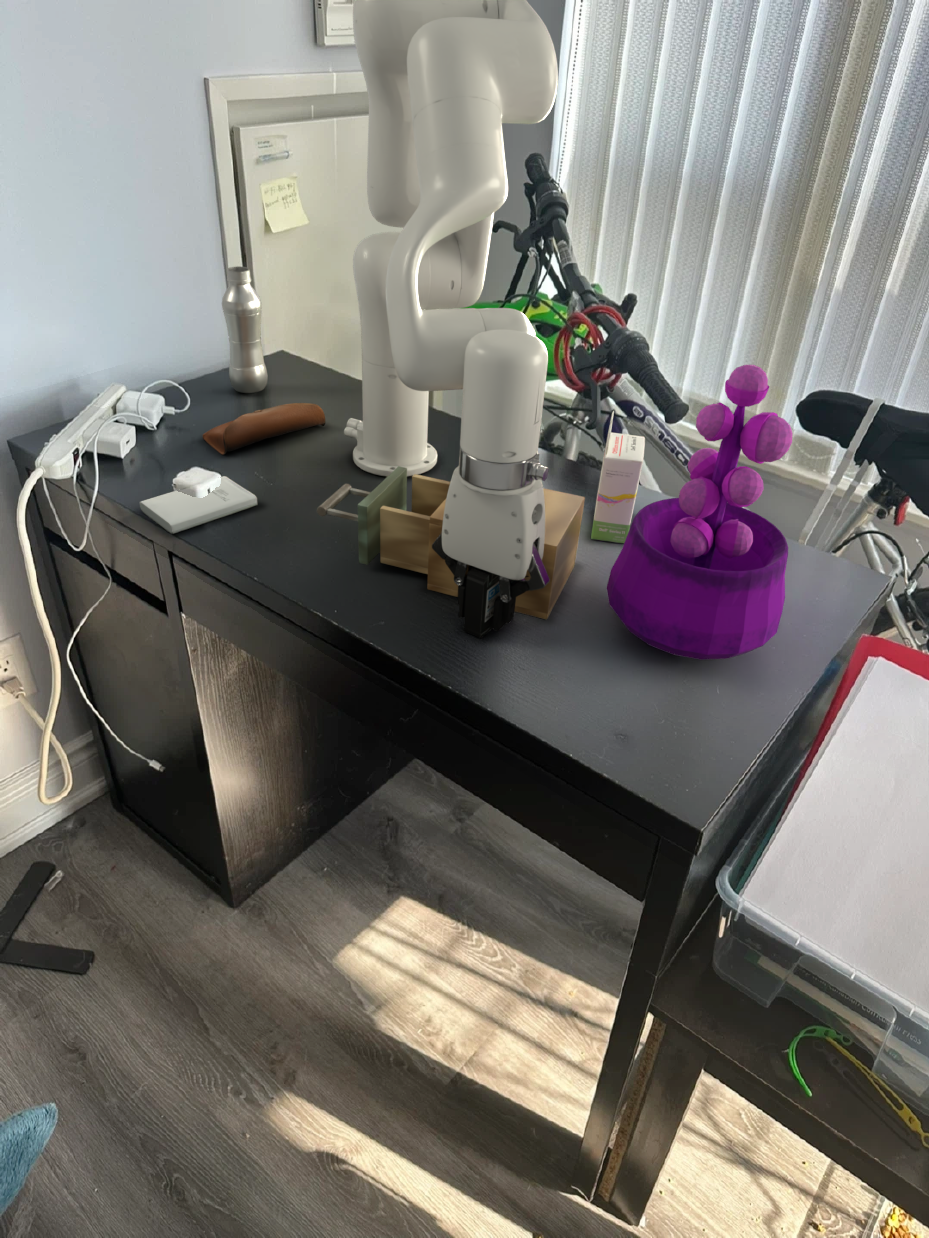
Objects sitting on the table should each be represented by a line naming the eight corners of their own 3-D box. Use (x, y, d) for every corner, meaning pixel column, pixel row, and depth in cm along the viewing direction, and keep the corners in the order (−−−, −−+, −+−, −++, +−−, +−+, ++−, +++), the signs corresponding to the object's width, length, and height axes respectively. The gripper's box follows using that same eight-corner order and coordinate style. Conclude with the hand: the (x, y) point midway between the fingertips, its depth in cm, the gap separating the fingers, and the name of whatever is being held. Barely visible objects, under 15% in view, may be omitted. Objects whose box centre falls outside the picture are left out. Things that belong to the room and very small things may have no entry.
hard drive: (140, 511, 109) (224, 484, 117) (172, 536, 105) (257, 506, 112) (138, 500, 108) (223, 474, 116) (170, 524, 104) (256, 495, 111)
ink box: (628, 545, 109) (648, 439, 100) (589, 540, 110) (607, 433, 101) (630, 515, 116) (650, 413, 107) (594, 510, 116) (611, 408, 108)
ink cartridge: (480, 640, 90) (485, 578, 86) (462, 632, 91) (466, 570, 87) (504, 619, 94) (510, 558, 89) (487, 612, 95) (492, 551, 90)
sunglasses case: (296, 409, 139) (306, 381, 133) (318, 441, 137) (329, 415, 132) (197, 436, 128) (204, 407, 123) (220, 471, 127) (228, 443, 122)
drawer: (309, 550, 102) (305, 492, 97) (351, 510, 111) (350, 455, 106) (464, 589, 97) (468, 530, 92) (495, 544, 106) (500, 488, 101)
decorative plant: (766, 598, 100) (845, 348, 83) (777, 696, 85) (876, 416, 68) (608, 572, 103) (653, 325, 86) (593, 662, 88) (643, 386, 71)
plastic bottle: (224, 395, 143) (210, 272, 132) (239, 382, 149) (227, 262, 137) (260, 399, 143) (249, 276, 131) (274, 386, 148) (265, 266, 137)
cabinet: (427, 589, 98) (429, 517, 92) (464, 540, 108) (468, 472, 102) (546, 620, 94) (556, 546, 89) (574, 566, 104) (585, 496, 98)
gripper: (591, 473, 81) (567, 627, 92) (445, 431, 87) (438, 579, 98) (558, 503, 76) (536, 662, 86) (404, 456, 82) (402, 609, 93)
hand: (484, 616), depth 92 cm, fingers open, 3 cm apart
